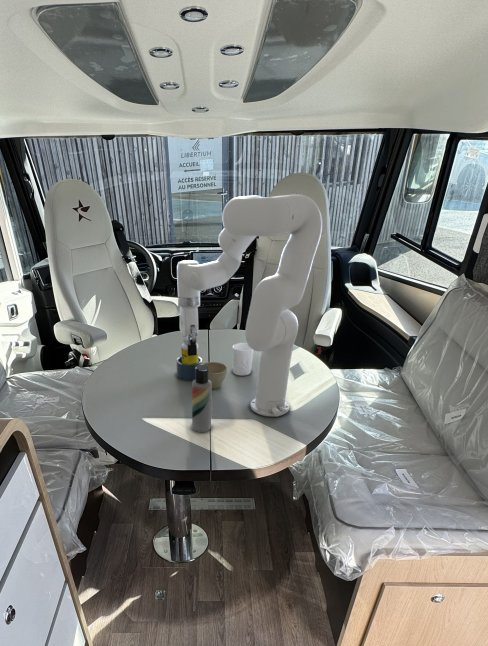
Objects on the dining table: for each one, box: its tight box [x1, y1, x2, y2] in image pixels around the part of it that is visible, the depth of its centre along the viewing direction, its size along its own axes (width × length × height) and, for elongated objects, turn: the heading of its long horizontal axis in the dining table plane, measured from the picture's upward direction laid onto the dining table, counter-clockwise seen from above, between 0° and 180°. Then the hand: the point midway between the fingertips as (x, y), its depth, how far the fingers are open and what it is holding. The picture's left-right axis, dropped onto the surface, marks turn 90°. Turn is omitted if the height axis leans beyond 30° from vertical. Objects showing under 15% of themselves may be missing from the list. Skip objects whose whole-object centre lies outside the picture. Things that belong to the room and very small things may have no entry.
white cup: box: [232, 342, 255, 377], centre depth 165 cm, size 8×8×10 cm
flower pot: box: [202, 361, 228, 390], centre depth 156 cm, size 10×10×7 cm
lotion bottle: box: [191, 363, 213, 433], centre depth 129 cm, size 6×6×20 cm
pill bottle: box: [180, 336, 200, 365], centre depth 160 cm, size 6×6×11 cm
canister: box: [175, 355, 203, 381], centre depth 164 cm, size 9×9×6 cm
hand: (190, 351), depth 160 cm, fingers closed on pill bottle, 6 cm apart
